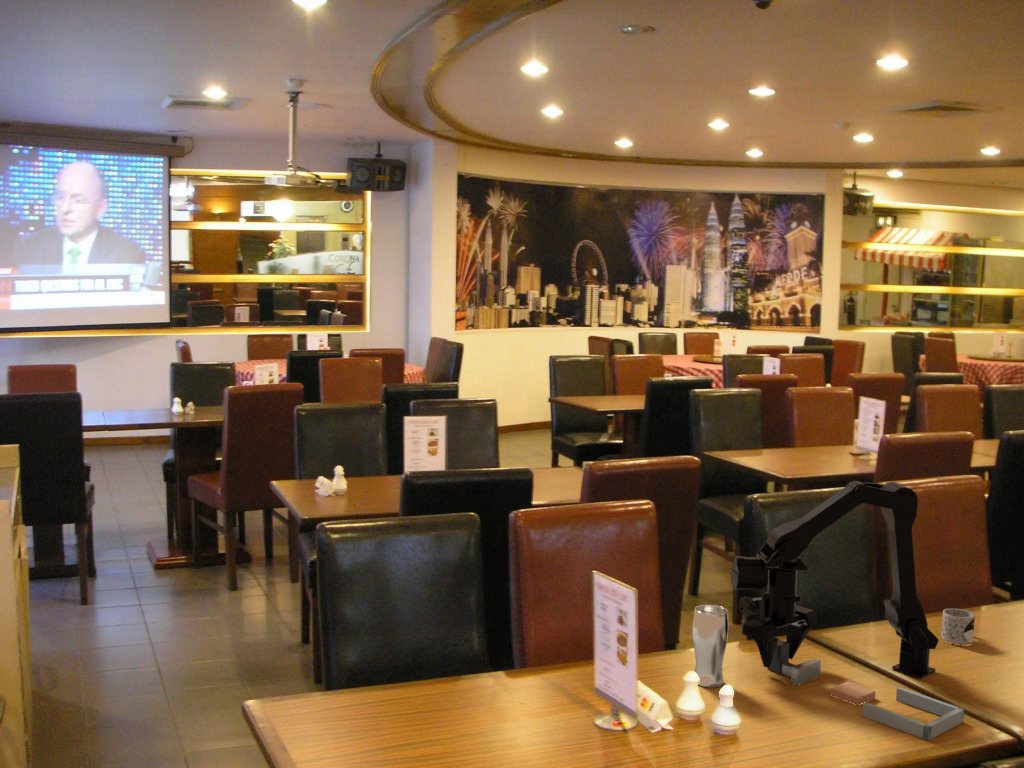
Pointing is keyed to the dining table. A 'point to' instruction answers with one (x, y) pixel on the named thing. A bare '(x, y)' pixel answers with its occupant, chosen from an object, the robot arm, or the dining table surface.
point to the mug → (958, 626)
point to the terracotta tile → (853, 693)
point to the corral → (926, 731)
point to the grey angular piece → (796, 672)
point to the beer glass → (710, 643)
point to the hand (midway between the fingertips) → (778, 662)
